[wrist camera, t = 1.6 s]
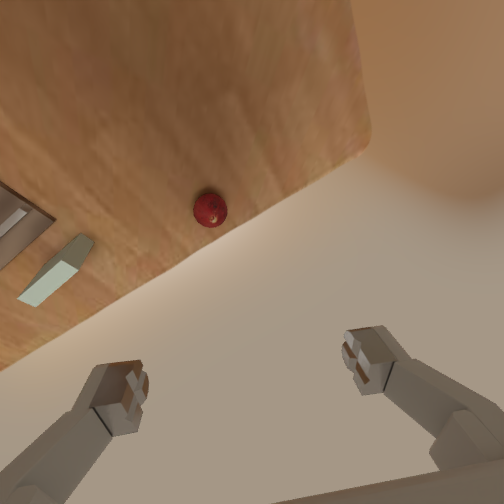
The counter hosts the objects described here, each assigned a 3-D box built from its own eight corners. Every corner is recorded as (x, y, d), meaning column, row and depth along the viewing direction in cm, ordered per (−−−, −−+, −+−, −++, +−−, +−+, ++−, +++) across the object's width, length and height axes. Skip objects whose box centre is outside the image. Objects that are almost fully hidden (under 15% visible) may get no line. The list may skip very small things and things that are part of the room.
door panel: (44, 265, 41) (16, 298, 34) (80, 232, 40) (61, 260, 33) (58, 273, 43) (35, 307, 35) (94, 242, 42) (78, 270, 34)
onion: (197, 184, 42) (202, 197, 35) (227, 194, 44) (237, 208, 38) (188, 213, 44) (191, 231, 38) (217, 221, 47) (225, 240, 40)
